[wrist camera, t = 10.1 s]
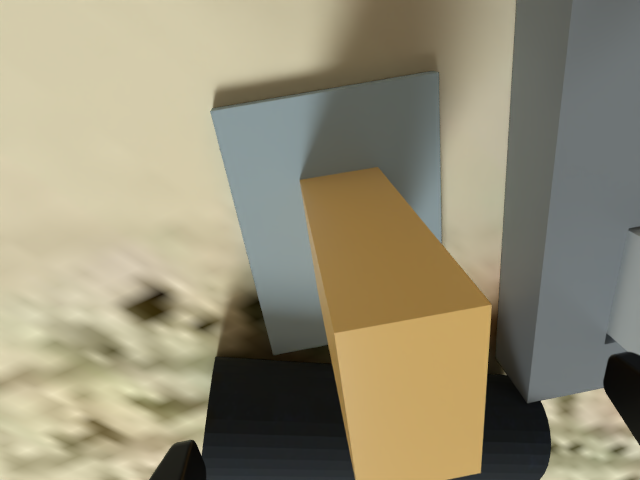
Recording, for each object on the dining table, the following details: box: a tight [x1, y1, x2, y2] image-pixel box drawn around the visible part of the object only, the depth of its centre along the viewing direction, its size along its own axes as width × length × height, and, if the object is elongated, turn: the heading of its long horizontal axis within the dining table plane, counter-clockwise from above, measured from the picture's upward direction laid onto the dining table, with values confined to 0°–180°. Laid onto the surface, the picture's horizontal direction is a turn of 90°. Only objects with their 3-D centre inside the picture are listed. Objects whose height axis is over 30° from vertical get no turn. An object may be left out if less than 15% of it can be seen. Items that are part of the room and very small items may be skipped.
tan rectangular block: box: [300, 167, 492, 480], centre depth 13 cm, size 3×5×9 cm, turn 7°
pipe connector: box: [202, 357, 551, 480], centre depth 21 cm, size 12×5×15 cm
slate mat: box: [210, 71, 441, 355], centre depth 17 cm, size 8×11×1 cm
